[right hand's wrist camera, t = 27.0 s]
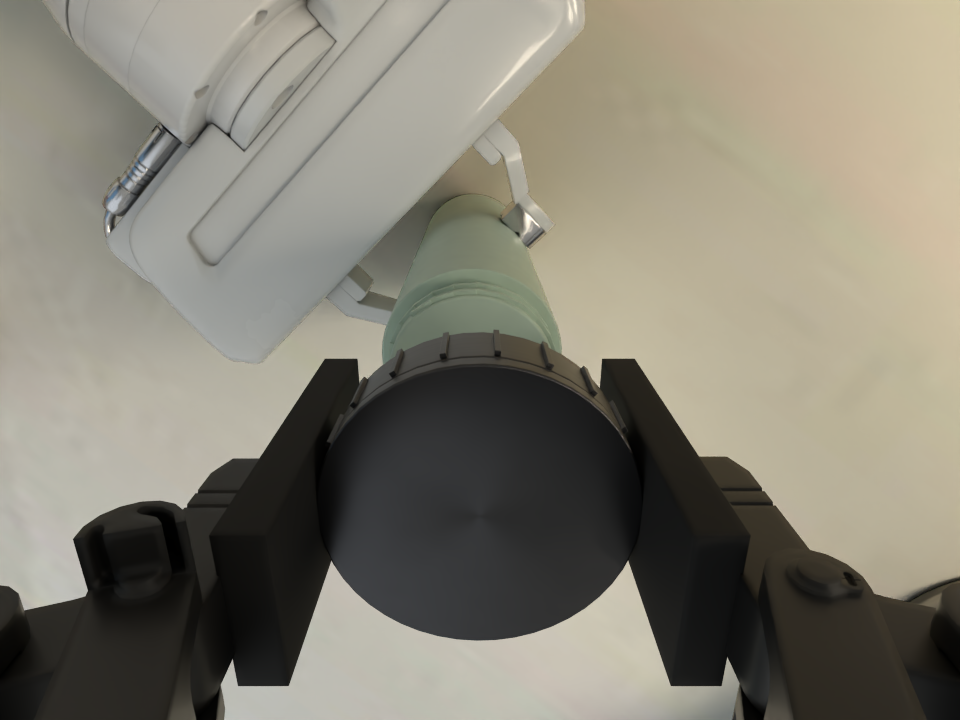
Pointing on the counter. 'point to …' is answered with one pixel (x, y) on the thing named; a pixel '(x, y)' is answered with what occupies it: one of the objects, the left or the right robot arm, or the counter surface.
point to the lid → (479, 488)
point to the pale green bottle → (470, 281)
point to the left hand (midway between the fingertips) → (487, 285)
